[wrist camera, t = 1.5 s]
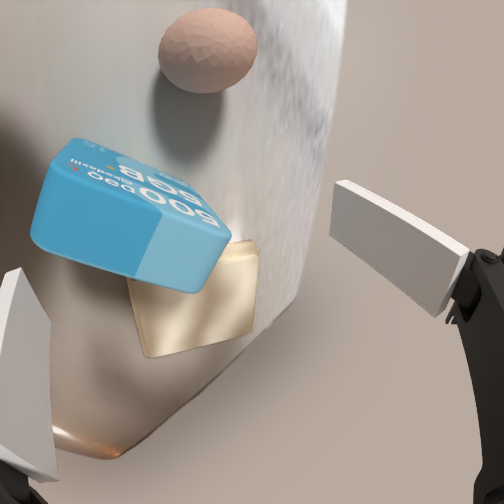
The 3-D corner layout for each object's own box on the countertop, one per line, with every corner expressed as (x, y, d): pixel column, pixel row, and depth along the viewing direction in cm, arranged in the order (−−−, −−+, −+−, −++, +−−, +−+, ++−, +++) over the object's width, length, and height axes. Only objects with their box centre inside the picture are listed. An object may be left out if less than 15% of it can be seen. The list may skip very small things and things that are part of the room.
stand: (142, 344, 34) (146, 361, 32) (123, 261, 28) (126, 277, 26) (245, 319, 40) (255, 334, 37) (251, 239, 34) (263, 252, 31)
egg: (237, 76, 24) (296, 73, 16) (169, 106, 23) (199, 112, 15) (212, 14, 20) (262, -18, 12) (139, 41, 19) (155, 11, 11)
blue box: (191, 184, 28) (241, 241, 18) (170, 225, 29) (207, 299, 19) (75, 135, 20) (45, 165, 11) (56, 182, 22) (23, 246, 12)
